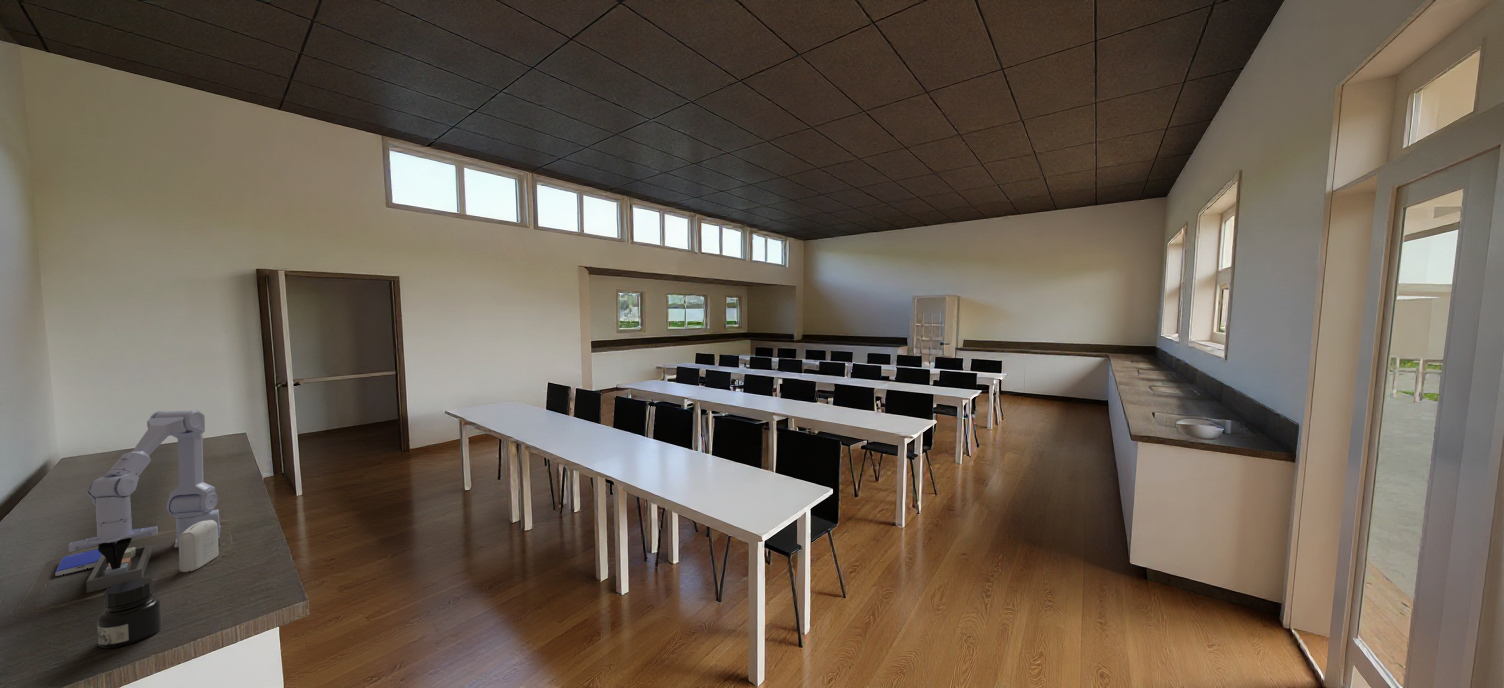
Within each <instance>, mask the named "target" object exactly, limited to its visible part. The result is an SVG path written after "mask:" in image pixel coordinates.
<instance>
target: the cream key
mask: <svg viewBox="0 0 1504 688" xmlns="http://www.w3.org/2000/svg"><path fill="white" fill-rule="evenodd" d="M128 548H129V547H127V549H128ZM131 548H133V556H132V558H133V557H134V556H135V554H136V549H135V548H136V546H133V547H131Z"/></svg>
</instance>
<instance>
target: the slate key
mask: <svg viewBox="0 0 1504 688" xmlns="http://www.w3.org/2000/svg"><path fill="white" fill-rule="evenodd" d="M128 570H129V565H128V563H125V564H121V567H120V568H117V569H113V570H112V568H111V567H107V568H106V570H105V576H109V575H113V574H117V573H122V572H126V571H128Z"/></svg>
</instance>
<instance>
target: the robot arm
mask: <svg viewBox="0 0 1504 688" xmlns="http://www.w3.org/2000/svg"><path fill="white" fill-rule="evenodd" d="M205 421H206V420H205V414H204V413H203V412H201V411H200V410H197V409H192V410H172V411H171V410H170V411H169V410H168V411H167V410H165V411H163V410H159V411H155V412H154V413H152V415H151V416H150V417H149V419H148V420H147V421H146V427H147V430H146V431H145V433H144V435H142V436H141V439H140V440H139V442H138V443H137V444H136V445H135V447H134V449H132V451H129V452H125V453H124V454H122V455H121V456H120V457H119V458H118V460H117V461H116V462H115V463H114V464H113V465H112V466H111V468H110V469H109V470H108V471H107V472H106V473H105V474H104V476H101V477H98V478H97V479H95V480H93V481H92V482H90V484H89V486H88V489H87V490H86V495H87V496H88V498H90V499H91V504H92V505H93V506H95V516H96V517H95V518H96V536H94V537H90V538H85V539H81V540H78V541H72V542H70V543H69V544H68V552H69V553H71V552H76V551H77V550H78V551H79V550H81V549H88V548H92V547H98V548H97V549H98V551H99V552H100V553H101V554H103V555H104V556H105V558H106V559H107V560H108V562H109V563H110V565H111V568H112V570H113V569H117V568H120V567H121V563H122V559H123V556H124V553H125V551H126V549H127V548H129V545H130V544H131V542H132V540H133V539H139V538H142V537H148V536H157V535H158V533H159V531H158V526H157V525H156V526H155V525H154V526H150V527H143V528H133V525H132V523H133V522H132V505H131V504H132V503H131V494H133V493H134V492H135V491H136V489H137V487H138V482H139V480H140V475H141V474H142V473H143V471H144V470H145V469H146V468H147V466H149V465H150V463H151V462H152V459H151V457H150V455H151V454H152V453H153V452H155V451H156V450H157V448H158V447H159V446H161V444H162V443H163V442H164V441H165V440H166V439H167V438H168V437H170V436H172V437H174V438H175V439H177V461H178V462H177V463H178V464H177V466H178V468H177V470H178V475H177V476H178V486H177V487H176V488H175V489H173V490H172V491H171V492H169V493H168V500H167V502H166V507H165V508H166V511H167V513H168V514H169V515H172V518H175V523H176V539H175V543H174V546H173V547H174V548H175V549H176V548H179V537H180V535H181V534H182V533H183V532H184V531H185V530H186V529H188V528H189V527H190V526H192V525H194V524H196V523H198V522H201V521H207V520H213V521H215V522H216V523H217V525H218V539H220V535H221V534H220V533H221V531H222V525H220V511H219V510H220V509H215V508H216V506H217V505H218V502H219V499H218V498H219V497H218V495H217V493H216V487H215V486H213V485H211V484H210V483H209V484H208V483H207V482H204V480H205V479H204V443H203V442H204V439H203V433H205V432H206V426H205V424H206V422H205Z"/></svg>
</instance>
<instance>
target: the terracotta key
mask: <svg viewBox="0 0 1504 688" xmlns="http://www.w3.org/2000/svg"><path fill="white" fill-rule="evenodd" d="M125 563H128V565H129V568H130V566H131V557H129V558H125V559H122V563H121V564H125ZM108 567H111V565H110V563H109V565H108Z"/></svg>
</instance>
